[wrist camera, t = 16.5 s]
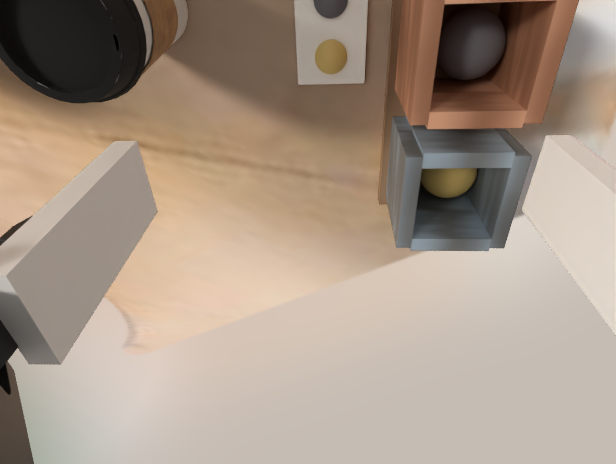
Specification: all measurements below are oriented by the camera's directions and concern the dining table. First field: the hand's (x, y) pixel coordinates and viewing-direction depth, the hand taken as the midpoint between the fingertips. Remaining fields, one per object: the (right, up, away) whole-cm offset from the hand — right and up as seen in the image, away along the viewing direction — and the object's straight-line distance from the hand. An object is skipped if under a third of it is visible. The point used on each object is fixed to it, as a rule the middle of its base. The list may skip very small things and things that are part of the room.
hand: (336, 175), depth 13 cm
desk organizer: (+11, +10, +23) cm, 28 cm away
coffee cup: (-14, +17, +21) cm, 30 cm away
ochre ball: (+12, +4, +23) cm, 26 cm away
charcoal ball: (+11, +12, +17) cm, 24 cm away
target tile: (+1, +15, +21) cm, 26 cm away
